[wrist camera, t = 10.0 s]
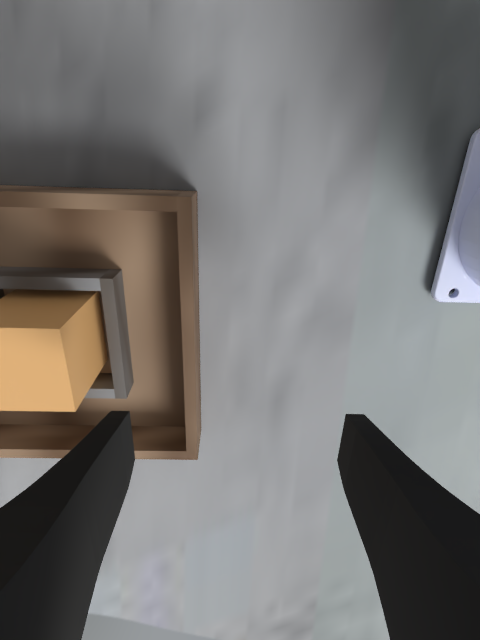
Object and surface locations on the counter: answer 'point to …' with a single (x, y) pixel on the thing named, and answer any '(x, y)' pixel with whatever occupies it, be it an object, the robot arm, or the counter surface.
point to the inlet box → (113, 309)
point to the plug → (49, 348)
